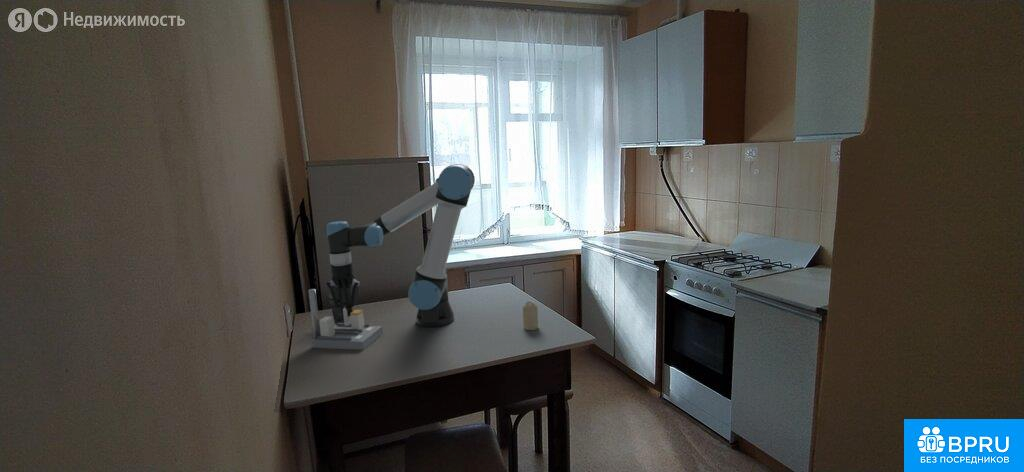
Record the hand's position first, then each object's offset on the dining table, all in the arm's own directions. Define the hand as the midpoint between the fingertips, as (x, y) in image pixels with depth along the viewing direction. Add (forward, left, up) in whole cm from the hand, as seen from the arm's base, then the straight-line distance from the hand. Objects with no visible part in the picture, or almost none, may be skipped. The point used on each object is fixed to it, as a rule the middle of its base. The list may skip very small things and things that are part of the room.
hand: (348, 324), depth 180 cm
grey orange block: (-4, 0, -2) cm, 4 cm away
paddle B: (+4, +8, -2) cm, 9 cm away
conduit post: (+7, +10, -2) cm, 12 cm away
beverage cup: (+11, -12, -5) cm, 17 cm away
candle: (-67, -14, -5) cm, 69 cm away
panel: (-2, +4, -5) cm, 7 cm away
